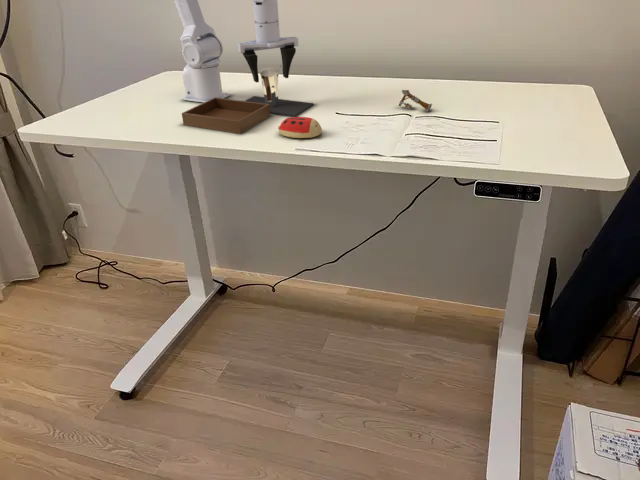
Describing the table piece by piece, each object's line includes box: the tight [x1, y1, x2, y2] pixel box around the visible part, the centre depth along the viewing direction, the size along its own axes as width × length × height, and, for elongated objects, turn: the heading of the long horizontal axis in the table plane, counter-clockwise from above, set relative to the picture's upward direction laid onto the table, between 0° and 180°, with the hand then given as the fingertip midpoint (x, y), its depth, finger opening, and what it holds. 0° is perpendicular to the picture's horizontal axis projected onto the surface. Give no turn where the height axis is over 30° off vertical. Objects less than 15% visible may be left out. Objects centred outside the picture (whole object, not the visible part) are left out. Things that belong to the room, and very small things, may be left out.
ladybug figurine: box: [277, 116, 323, 139], centre depth 124 cm, size 7×10×4 cm
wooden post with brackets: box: [398, 89, 433, 113], centre depth 136 cm, size 2×8×4 cm, turn 62°
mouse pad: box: [245, 95, 315, 117], centre depth 142 cm, size 18×10×1 cm, turn 63°
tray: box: [181, 97, 272, 135], centre depth 134 cm, size 16×13×3 cm
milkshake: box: [259, 64, 282, 107], centre depth 140 cm, size 4×5×10 cm
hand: (271, 79), depth 139 cm, fingers open, 7 cm apart
